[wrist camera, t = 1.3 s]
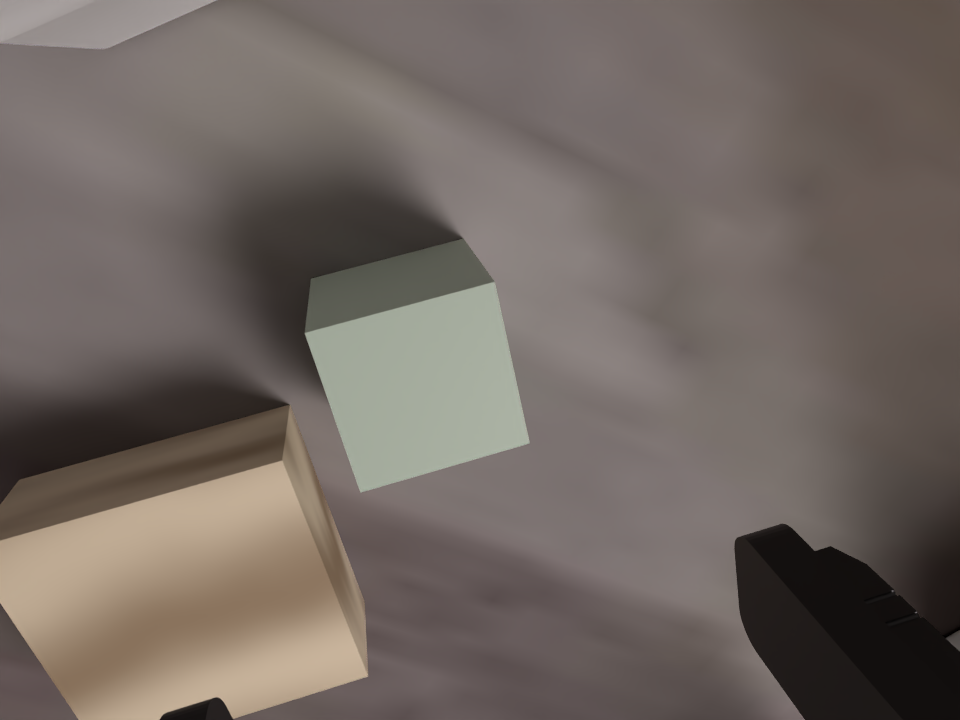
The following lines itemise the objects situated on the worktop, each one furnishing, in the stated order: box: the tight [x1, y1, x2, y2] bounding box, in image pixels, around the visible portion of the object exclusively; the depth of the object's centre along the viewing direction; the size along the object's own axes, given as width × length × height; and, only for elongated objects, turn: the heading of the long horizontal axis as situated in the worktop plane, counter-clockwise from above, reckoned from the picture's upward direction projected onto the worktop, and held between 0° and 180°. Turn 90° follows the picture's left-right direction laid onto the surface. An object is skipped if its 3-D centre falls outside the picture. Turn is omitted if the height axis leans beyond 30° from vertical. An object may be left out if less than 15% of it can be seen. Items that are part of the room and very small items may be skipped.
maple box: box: [0, 405, 368, 720], centre depth 24 cm, size 9×9×4 cm
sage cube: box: [305, 239, 529, 493], centre depth 21 cm, size 5×5×5 cm
